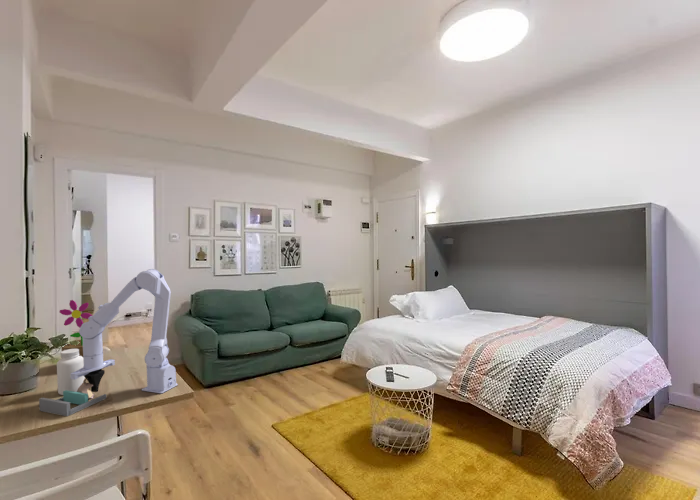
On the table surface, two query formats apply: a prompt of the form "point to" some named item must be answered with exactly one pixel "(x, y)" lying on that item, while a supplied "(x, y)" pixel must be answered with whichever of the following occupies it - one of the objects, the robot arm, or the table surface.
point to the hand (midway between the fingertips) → (94, 391)
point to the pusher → (75, 397)
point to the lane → (64, 405)
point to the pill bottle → (69, 370)
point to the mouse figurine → (86, 389)
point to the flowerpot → (79, 323)
